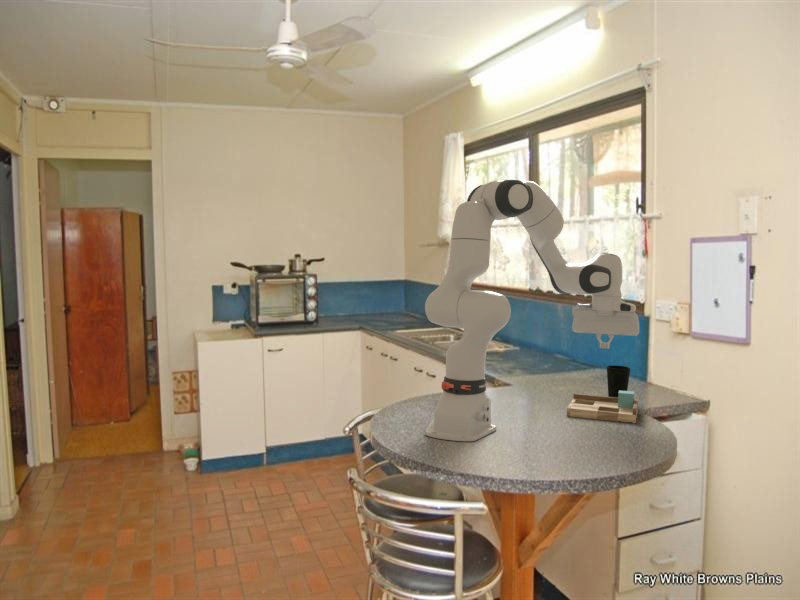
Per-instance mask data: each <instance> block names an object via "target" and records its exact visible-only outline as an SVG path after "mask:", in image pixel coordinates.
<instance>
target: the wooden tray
mask: <svg viewBox="0 0 800 600" xmlns="http://www.w3.org/2000/svg"><path fill="white" fill-rule="evenodd" d="M572 395H573V398H572V400H571V402H570V403H569V404H568V406H567V407H566V417H573V418H582V419H593V420H602V421H610V422H618V421H621V422H620V423H627V422H635V423H634V424H636V423H637V419H638V411H639V410H638V409H639V398H638V397H634V405H633V409H632V408H622V407H618V398H615V397H608V396H603V395H594V394H593V395H591V394H584V393H583V394H582V393H581V394H580V393H573V394H572ZM636 418H637V419H636Z"/></svg>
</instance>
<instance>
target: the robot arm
mask: <svg viewBox="0 0 800 600" xmlns="http://www.w3.org/2000/svg"><path fill="white" fill-rule="evenodd" d="M515 217H516V218H517V219H518V220H519V222H520V223H521V224H522V226H523V227H524V229H525V231H526V232H527V233H528V235H529V238H530V243H531V244H532V247H533V248H534V251H535V252H536V254H537V256H538V257H539V259H540V261H541V262H542V264H543V266H544V267H545V269H546V272H548V276H549V279H550V284H551V286H552V288H554V290H555V291H556V292H557V293H558V294H561V295H591V303H584V304H583V303H577V304H575V305H574V306H572V311H571V314H572V316H573V318H572V327H571V330H572V332H574V333H578V334H579V333H581V334H595V335H596V339H597V341H598V342H599V349H608V350H609V349H610V346H611V342H613V341H612V340H613V339H614V338H615V336H631V337H633V336H634V337H637V336H638V335H639V334H640V321H639V316H638V314H637V313H636V310H637V306H636V305H635V304H633V303H630V302H628V301H625V300H622V291H621V288H622V283H623V264H622V259H621V257H620V256H618V255H617V254H613V253H608V252H607V253H606V252H599V253H597V254H596V255H595V256H594V257H593V258H591V259H590V260H587V261H585V262H584V263H582V262H581V263H573V262H569V261H567V260H566V259H564V257H563V256H562V254H561V252H560V250H559V249H558V247H557V245H556V242H555V241H554V240H556V238H557V237H558V236H559V235H560V234H561V232H562V231H563V228H564V224H565V220H564V216H563V214H562V212H561V211H560V209H559V208H558V206H557V205H556V203H554V201H553V200H552V198H551V197H550V196H549V194H547V192H546V191H544V189H543V188H542V187H541V186H539V185H538V184H537V183H536V182H534V181H531V180H525V181H521V180H519V179H516V178H507V179H504V180H494V181H490V182H487V183H484V184H480V185H478V186H477V187H475V188H474V189H472V190H471V191H470V193H469V195H468V197H467V200H466V201H464V202H462V203H461V204H459V205H458V206H457V208H456V209H455V213H454V219H453V222H452V229H451V237H450V238H451V240H450V251H449V259H448V260H449V262H448V267H447V270H446V273H445V276H444V278H443V279H442V281H441V283H440V284H439V285H438V286H437V288H435V290H433V291H432V292H430V293H429V295H428V296H427V298H426V300H425V302H424V303H425V305H424V310H425V316H426V317H427V319H428V320H429V322H430V323H432V324H435V325H438V326H441V327H444V328H454V329H463V333H462V335H461V338H460V339H461V340H460V339H459V340H460V341H459V340H457V341H456V342H454V343H453V344H451V345H450V346H449V347H448V349H447V350H446V352H445V376H443V381H441V385H440V387H441V389H442V392H441V394H440V397H439V400H438V401H437V404H436V407H435V410H434V416H433V418H432V420H431V421H430V423H429V425H428V427H427V428H426V429H425V432H424V435H425V436H428V437H430V438H434V439H438V440H439V439H440V440H446V441H447V440H448V441H456V442H475V441H478V440H479V439H481V438H483V437H485V436H487V435H490V434H491V433H493V432H496V431H497V426H496V425H495V424H492V404H491V403H492V402H491V399H490V398H489V396H488V395H487V394H486V391H487V378H486V377H485V376H486V375H485V374H486V358H487V351H488V348H489V346H490V343H491V341H492V339H493V338H494V336H495V335H496V334H497V333H498V332H499V331H500V330H502V329H503V328H505V326H507V324H508V323H509V321H510V318H511V314H512V308H511V304H510V301H509V299H508V298H507V297H506V295H504V294H501V293H498V292H494V291H491V290H479V289H478V290H473V289H471V288H472V284H473V283H474V281H475V280H476V279H477V278H478V277H481V276H483V275H485V273H486V272H487V271H488V269H489V267H490V254H491V237H492V236H491V230H492V226H493V224H494V221H502V220H506V219H511V218H515ZM602 335H608V338H609V340H608V341H607V342H604V341H602Z"/></svg>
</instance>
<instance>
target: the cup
mask: <svg viewBox="0 0 800 600" xmlns="http://www.w3.org/2000/svg"><path fill="white" fill-rule="evenodd" d="M630 375H631V368H630V367H629V366H626V365H625V366H624V365H616V364H615V365H607V366H606V377H607V397H615V398H618V393H619V390H621V391H628V388H629V381H630Z"/></svg>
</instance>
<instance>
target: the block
mask: <svg viewBox="0 0 800 600" xmlns="http://www.w3.org/2000/svg"><path fill="white" fill-rule="evenodd" d="M634 399H635V391H632V390H631V391H630V390H627V391H621V390H619V393H618V407H622V408H632V409H633V405H634Z"/></svg>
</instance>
